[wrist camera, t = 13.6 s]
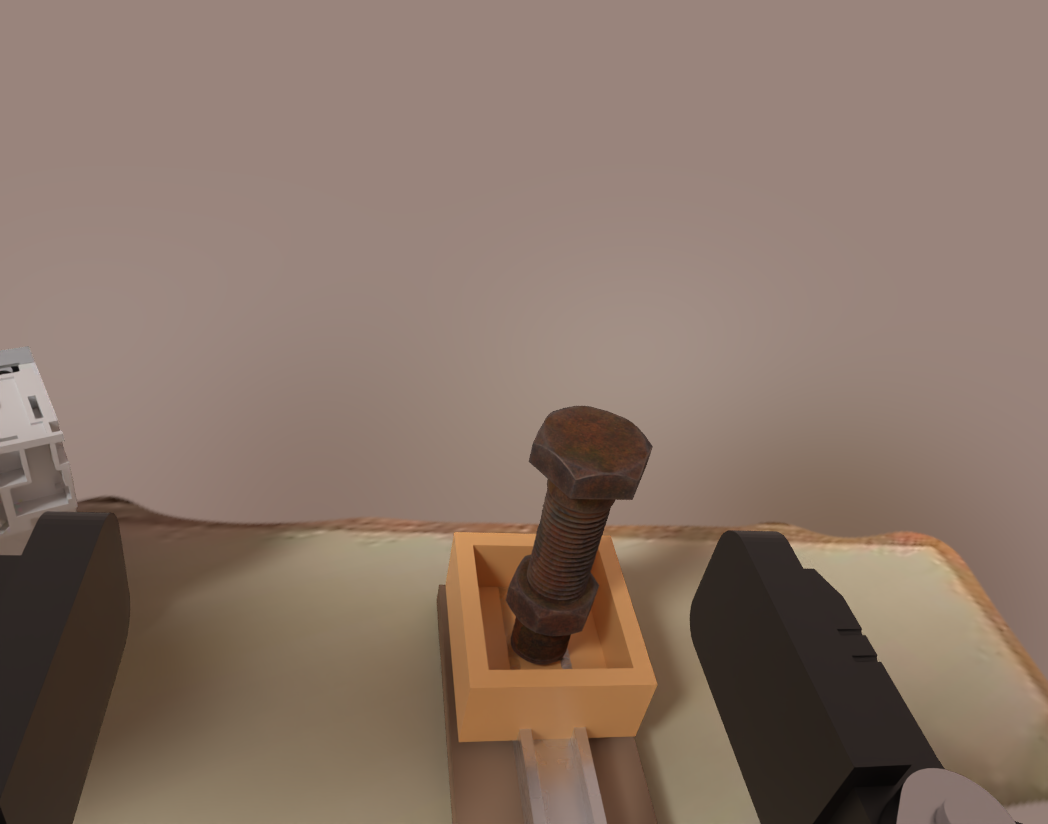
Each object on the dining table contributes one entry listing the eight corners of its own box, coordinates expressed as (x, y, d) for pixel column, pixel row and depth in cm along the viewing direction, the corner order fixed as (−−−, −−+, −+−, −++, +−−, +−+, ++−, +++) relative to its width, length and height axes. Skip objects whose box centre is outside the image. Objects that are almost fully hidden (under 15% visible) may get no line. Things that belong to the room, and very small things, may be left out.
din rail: (540, 933, 36) (547, 914, 35) (490, 585, 51) (494, 565, 50) (616, 926, 36) (625, 908, 35) (544, 585, 52) (549, 566, 51)
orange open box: (458, 742, 41) (470, 688, 39) (445, 585, 50) (454, 532, 47) (635, 736, 43) (657, 684, 41) (594, 586, 52) (610, 535, 49)
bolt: (563, 705, 43) (633, 493, 35) (476, 667, 44) (523, 453, 36) (593, 627, 48) (661, 423, 39) (514, 595, 49) (563, 389, 40)
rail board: (462, 954, 36) (466, 939, 35) (436, 600, 52) (439, 584, 51) (675, 935, 38) (684, 921, 37) (587, 601, 54) (592, 586, 53)
